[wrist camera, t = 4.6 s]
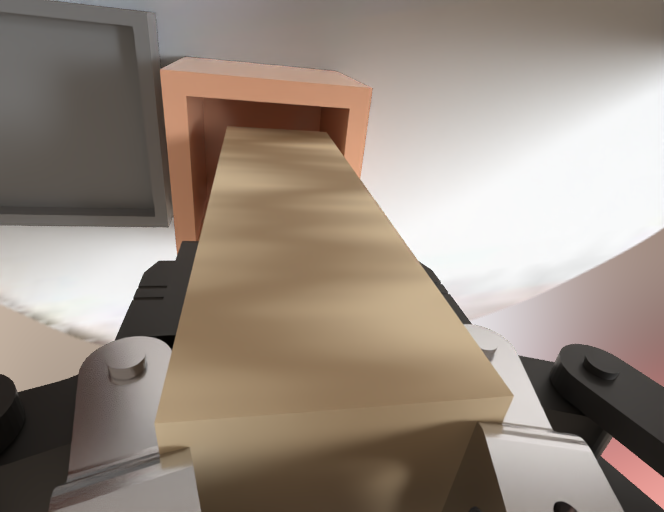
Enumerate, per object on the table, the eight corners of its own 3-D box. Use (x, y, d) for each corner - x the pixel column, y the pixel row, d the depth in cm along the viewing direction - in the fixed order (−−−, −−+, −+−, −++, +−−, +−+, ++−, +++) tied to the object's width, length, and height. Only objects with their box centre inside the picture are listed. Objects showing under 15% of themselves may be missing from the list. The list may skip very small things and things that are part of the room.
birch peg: (326, 131, 17) (514, 395, 5) (318, 219, 19) (439, 566, 7) (227, 125, 16) (153, 423, 4) (229, 218, 18) (186, 607, 6)
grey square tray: (155, 12, 19) (146, 11, 17) (174, 212, 23) (168, 227, 22) (-135, -21, 16) (-179, -27, 15) (-49, 208, 21) (-75, 224, 19)
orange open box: (336, 71, 21) (372, 88, 15) (323, 205, 25) (348, 261, 19) (185, 56, 20) (159, 69, 14) (195, 201, 23) (178, 262, 17)
